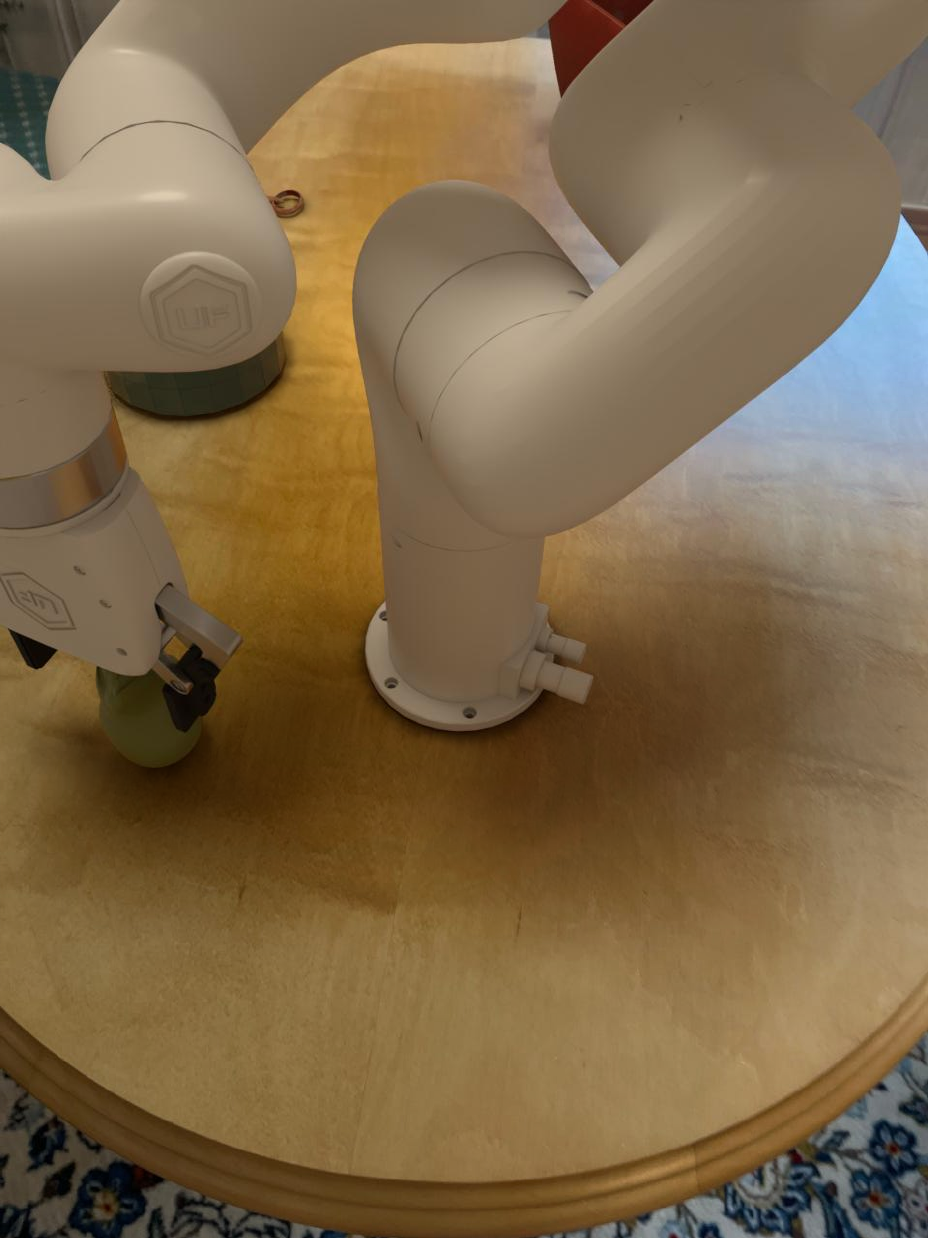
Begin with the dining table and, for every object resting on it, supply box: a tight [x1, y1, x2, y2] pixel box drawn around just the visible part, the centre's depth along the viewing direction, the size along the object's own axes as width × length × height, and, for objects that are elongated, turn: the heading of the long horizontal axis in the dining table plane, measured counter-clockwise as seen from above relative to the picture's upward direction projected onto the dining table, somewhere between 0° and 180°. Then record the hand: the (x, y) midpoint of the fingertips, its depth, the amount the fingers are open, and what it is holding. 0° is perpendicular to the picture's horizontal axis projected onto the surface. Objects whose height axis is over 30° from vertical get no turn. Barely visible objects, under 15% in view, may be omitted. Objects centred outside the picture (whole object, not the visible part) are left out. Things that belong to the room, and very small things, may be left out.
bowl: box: [103, 329, 287, 417], centre depth 82 cm, size 15×15×6 cm
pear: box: [95, 649, 203, 769], centre depth 57 cm, size 6×5×10 cm
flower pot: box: [547, 0, 654, 99], centre depth 100 cm, size 19×19×17 cm
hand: (122, 679), depth 55 cm, fingers open, 9 cm apart
